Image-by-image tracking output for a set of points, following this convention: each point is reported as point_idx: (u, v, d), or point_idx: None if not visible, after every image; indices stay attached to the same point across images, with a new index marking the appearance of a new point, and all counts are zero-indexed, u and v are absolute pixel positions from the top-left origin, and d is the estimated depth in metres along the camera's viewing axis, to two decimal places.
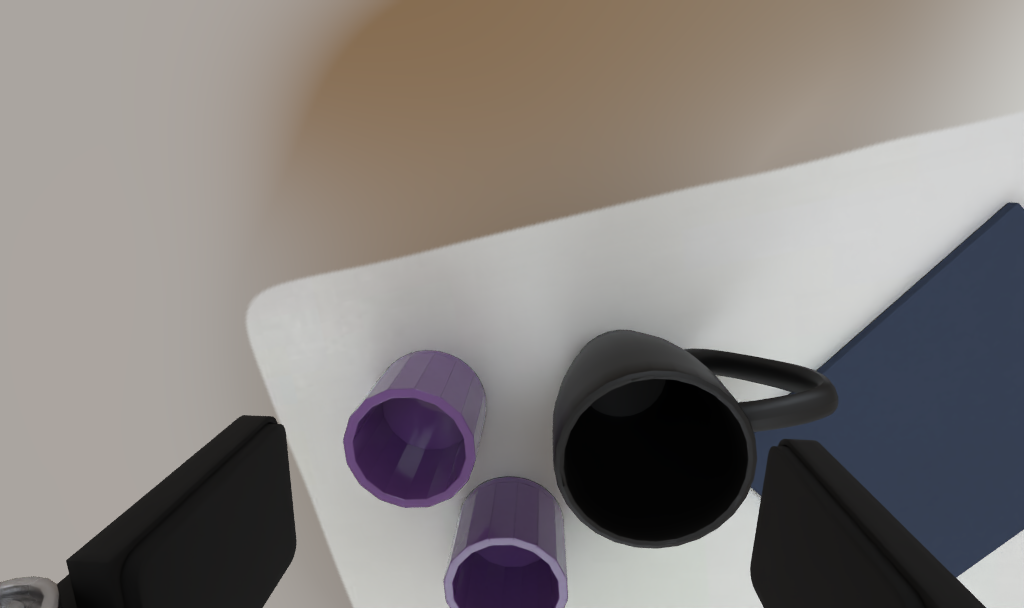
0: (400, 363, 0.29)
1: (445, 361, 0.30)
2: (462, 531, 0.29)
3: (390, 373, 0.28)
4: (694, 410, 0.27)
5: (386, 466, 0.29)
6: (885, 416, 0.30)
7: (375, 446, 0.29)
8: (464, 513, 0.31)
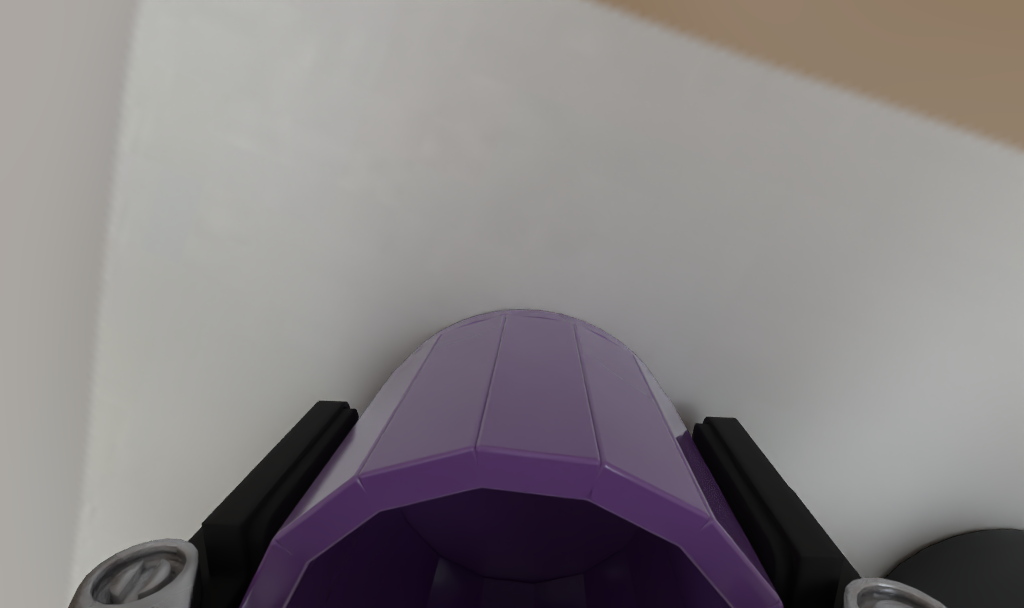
0: (547, 332, 0.09)
1: (663, 395, 0.10)
2: None
3: (533, 355, 0.08)
4: None
5: None
6: None
7: (345, 536, 0.09)
8: None
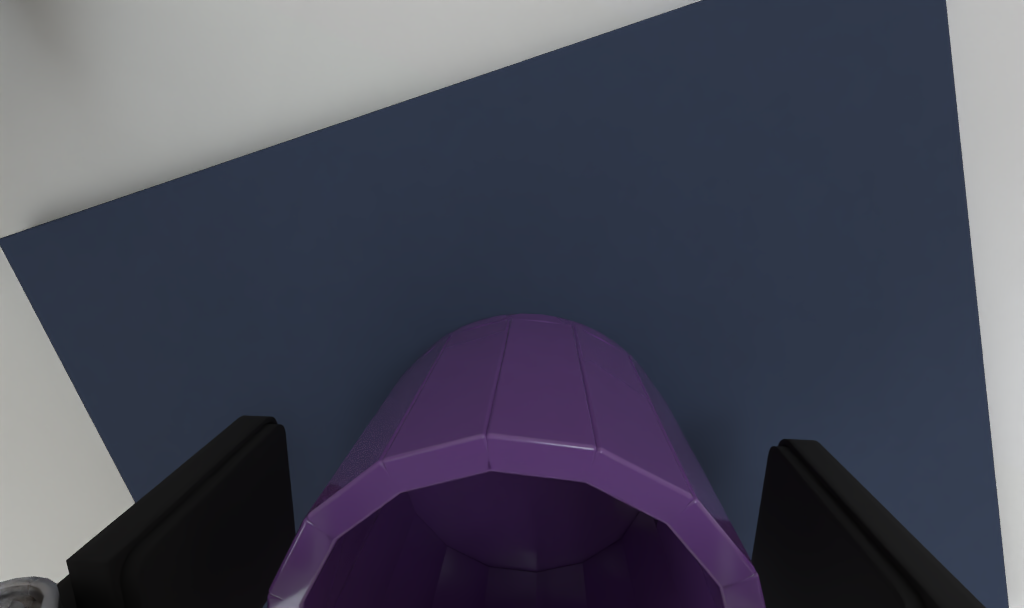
0: (548, 335, 0.10)
1: (656, 394, 0.10)
2: None
3: (536, 356, 0.09)
4: None
5: (365, 599, 0.09)
6: (403, 329, 0.12)
7: (362, 523, 0.09)
8: None
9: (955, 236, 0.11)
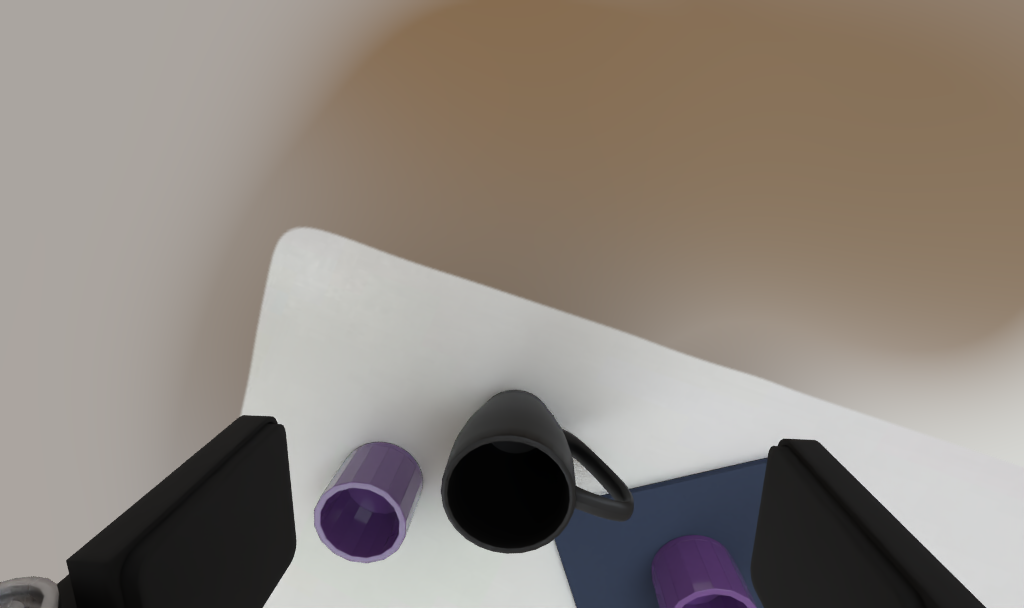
0: (707, 548, 0.40)
1: (733, 561, 0.41)
2: (351, 469, 0.38)
3: (709, 559, 0.39)
4: (549, 473, 0.38)
5: None
6: (659, 537, 0.42)
7: None
8: (356, 456, 0.40)
9: None
